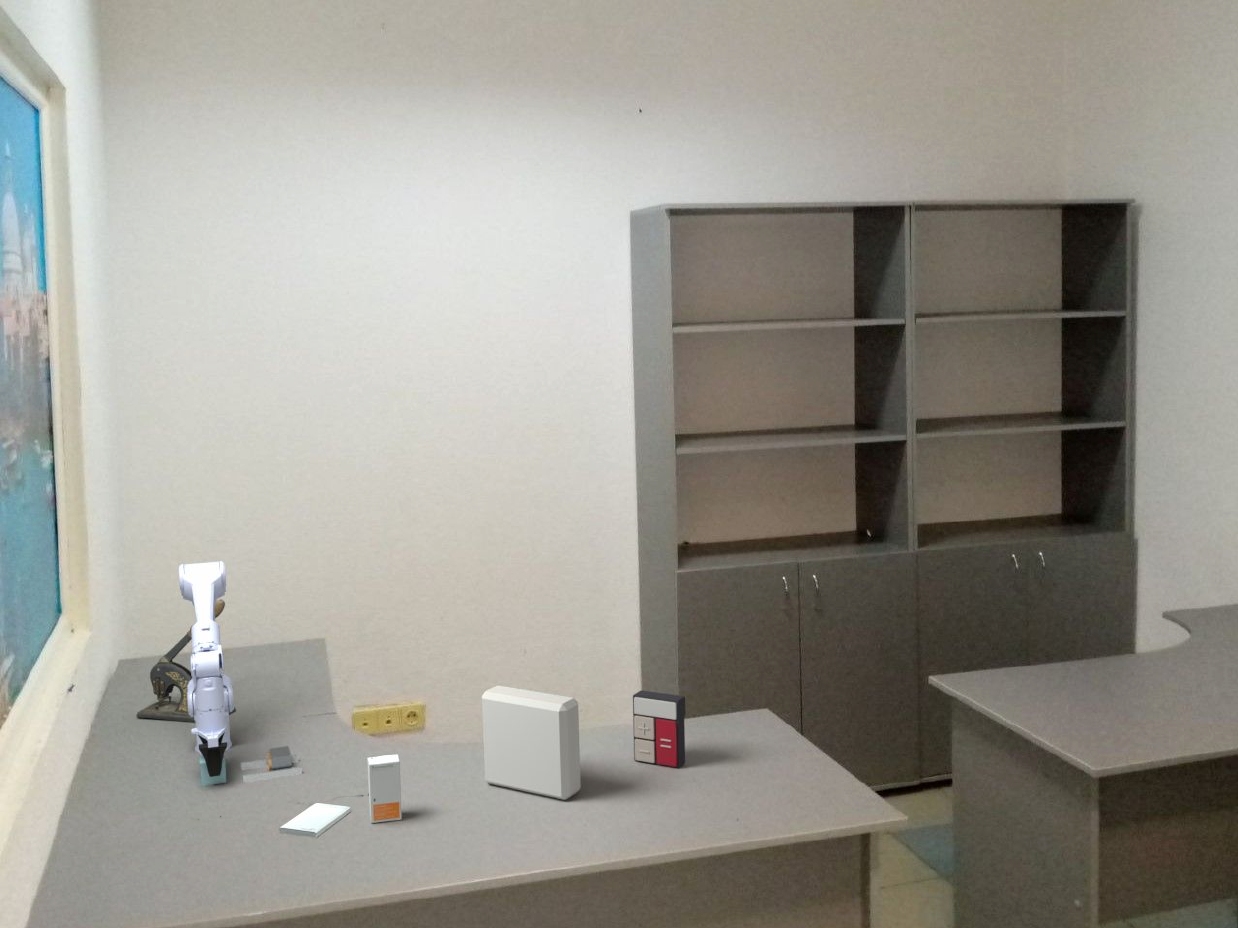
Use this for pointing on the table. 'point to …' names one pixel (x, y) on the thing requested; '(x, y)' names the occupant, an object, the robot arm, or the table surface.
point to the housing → (205, 775)
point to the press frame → (268, 774)
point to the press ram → (279, 758)
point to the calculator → (659, 728)
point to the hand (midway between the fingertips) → (214, 769)
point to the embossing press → (173, 682)
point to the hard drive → (315, 820)
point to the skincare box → (384, 788)
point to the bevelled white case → (531, 741)
